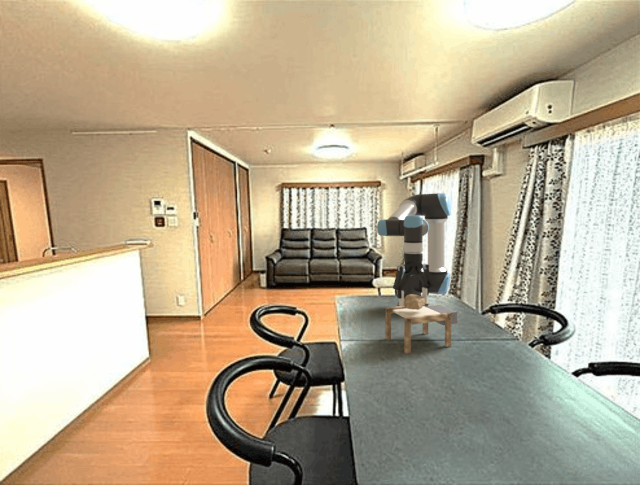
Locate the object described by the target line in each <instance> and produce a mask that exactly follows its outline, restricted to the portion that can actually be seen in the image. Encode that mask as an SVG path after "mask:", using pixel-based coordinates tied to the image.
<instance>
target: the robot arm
mask: <svg viewBox="0 0 640 485" xmlns="http://www.w3.org/2000/svg"><path fill="white" fill-rule="evenodd" d="M451 214H452V207H451V200H450V197H449V195H448V194H446V193H442V192H441V193H440V192H438V193H437V192H436V193H417V194H413V195H411V196H409V197H407V198H405V199H404V200H403V201H401V202H400V203H399V206H398V208H397V209H396V210H395V211H394V212H393V213H392V214H391V215H390V216H389V217H388V218H387V219H385V218H384V219H379V220H378V221H377V225H376V230H377V234H378V235H379V236H380V237H403V249H404V250H403V251H404V253H403V262H404V264H403V265H397V266H396V270H397V272H396V275H395V278H394V281H393V282H394V283H393V285H392V289H394V290H396V293H397V294H396V298H397V299H398V301H397V303H396V307H397V306H402V307H404V299H405V297H406V296H407V295H410V294H414V295H419V296H422V297H424V298H425V299H426V301H425V304H428V296H429V294H432V295H446V294H447V293H448V291H449V288H450V283H451V273H450V272H448V269H447V268H446V266H445V228H446V227H445V222H446V221H447V220H448V218H449V216H451ZM423 217H424V218H423ZM425 235H427V263H423V257H424V254H423V251H424V248H423V246H424V245H423V237H424V236H425Z"/></svg>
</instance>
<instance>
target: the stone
mask: <svg viewBox="0 0 640 485" xmlns="http://www.w3.org/2000/svg"><path fill="white" fill-rule="evenodd" d="M425 301H426V299H425V298H424V297H422V295H421V296H419V295H414V294H410V295H407V296H406V297H405V299H404V306H405V307H406V308H407V309H416V310H419V309H421V308H422V304H424V303H425Z"/></svg>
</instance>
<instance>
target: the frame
mask: <svg viewBox="0 0 640 485" xmlns="http://www.w3.org/2000/svg"><path fill="white" fill-rule="evenodd" d="M422 306H429V303H427V304H425V303H424V304H422ZM405 308H406V307H405V306H404V307H402V306H397V305H396V306H390V307H389V306H388V307H384V309H385V310H384V314H385V315H384V319H385V320H384V322H385V323H384V326H385V327H384V329H385V330H384V332H385V333H384V334H385V338H384V339H385V340H386V341H389V340H392V314H395V313H394V312H393V310H396V309H405ZM451 316H452V313H441V314H433V315H425V316H417V317H409V318H404V317H403V320H404V321H403V322H404V323H403V324H404V325H403V326H404V327H403V329H404V330H403V331H404V332H403V333H404V336H403V337H404V339H403V340H404V345H403V346H404V349H403V350H404V353H405V354H412V353H411V351H412V350H411V349H412V325H418V324H419V325H420V324H422V335H429V323H437V322H436V321H443V320H445V325H444V347H446V348H450V347H452V324H451Z"/></svg>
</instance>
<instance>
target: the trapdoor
mask: <svg viewBox="0 0 640 485" xmlns="http://www.w3.org/2000/svg"><path fill="white" fill-rule="evenodd" d="M393 312H394V314H397V315H398V316H400V317H402V318H403V319H404V318H409V317H417V316H425V315H433V314H441V313H452V316H451V325H455V324H458V311H456V310H453V309H451V308H449V307H446V306H443V305H442V304H435V305H428V306H422V308H421V309H419V310H416V309H407V308H405V309H396V310H393ZM435 323H438V324H439V325H442V326H445V320H443V321H436V322H435Z"/></svg>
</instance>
